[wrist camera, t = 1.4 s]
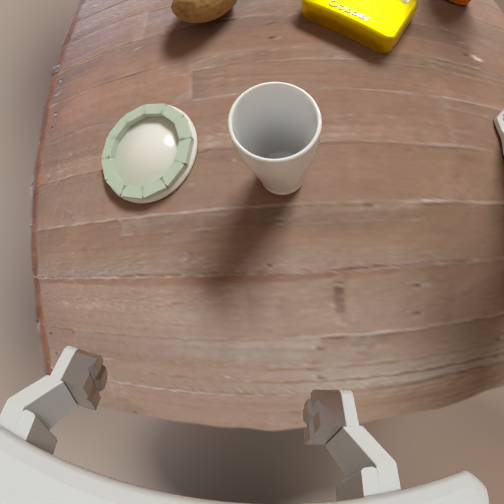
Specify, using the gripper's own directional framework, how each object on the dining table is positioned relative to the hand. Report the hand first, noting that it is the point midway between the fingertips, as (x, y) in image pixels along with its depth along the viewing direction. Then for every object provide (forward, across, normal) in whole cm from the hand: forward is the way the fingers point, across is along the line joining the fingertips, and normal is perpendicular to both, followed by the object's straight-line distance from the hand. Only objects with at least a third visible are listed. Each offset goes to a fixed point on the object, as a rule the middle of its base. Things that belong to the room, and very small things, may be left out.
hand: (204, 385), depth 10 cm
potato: (+45, +10, -23) cm, 51 cm away
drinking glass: (+28, -4, 0) cm, 28 cm away
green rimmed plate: (+31, +13, 0) cm, 34 cm away
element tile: (+43, -14, -27) cm, 52 cm away
